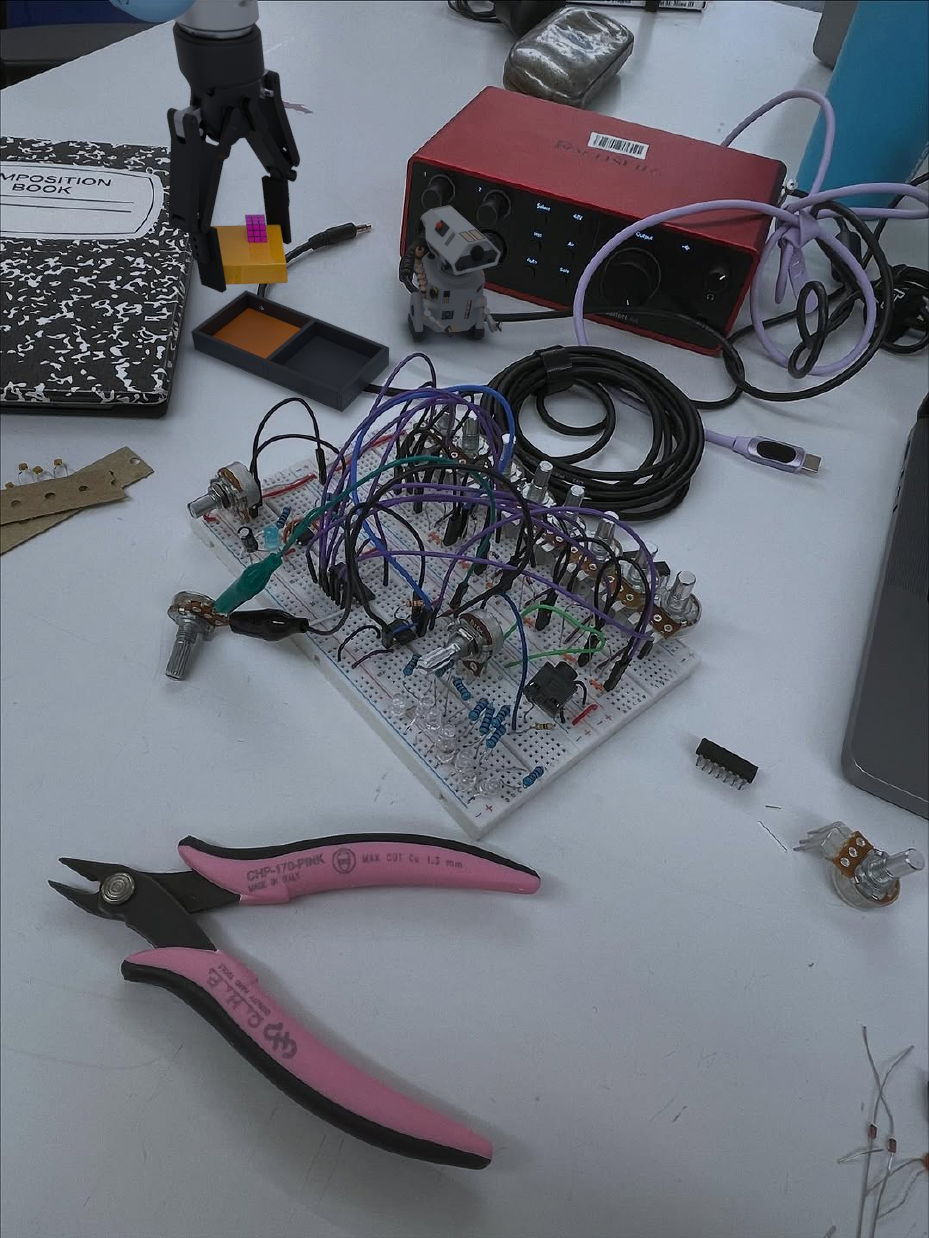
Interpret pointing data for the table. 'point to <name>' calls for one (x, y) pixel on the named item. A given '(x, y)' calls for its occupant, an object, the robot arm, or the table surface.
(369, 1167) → the table surface
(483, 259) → the figurine
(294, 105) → the table surface
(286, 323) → the divided tray
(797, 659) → the table surface
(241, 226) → the orange box
